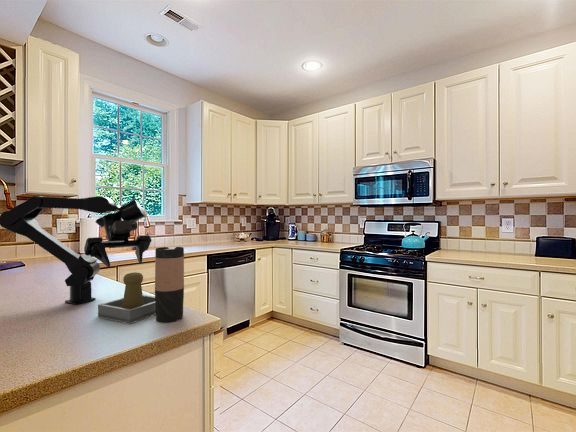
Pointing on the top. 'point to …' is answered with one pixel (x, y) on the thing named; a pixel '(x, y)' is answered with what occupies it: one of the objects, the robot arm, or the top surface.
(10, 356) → the top surface
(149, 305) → the gray square tray
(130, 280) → the cork
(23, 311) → the top surface
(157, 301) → the travel mug
